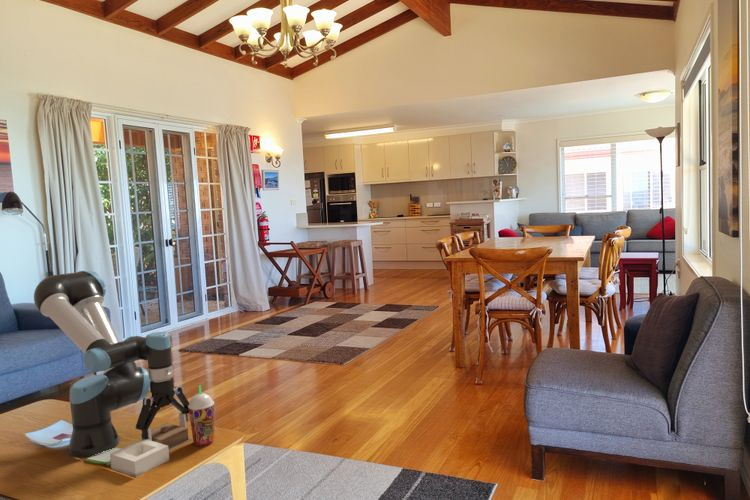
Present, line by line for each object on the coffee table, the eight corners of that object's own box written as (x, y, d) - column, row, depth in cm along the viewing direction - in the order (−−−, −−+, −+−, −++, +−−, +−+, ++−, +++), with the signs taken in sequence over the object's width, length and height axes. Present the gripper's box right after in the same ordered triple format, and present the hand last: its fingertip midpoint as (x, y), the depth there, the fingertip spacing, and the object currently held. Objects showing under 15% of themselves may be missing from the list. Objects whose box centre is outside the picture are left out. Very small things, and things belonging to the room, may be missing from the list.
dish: (111, 469, 172) (109, 453, 171) (145, 453, 182) (143, 438, 182) (135, 477, 166) (134, 461, 165) (169, 461, 176) (168, 445, 175)
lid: (142, 445, 187) (141, 430, 187) (168, 434, 196) (167, 419, 196) (162, 452, 182) (161, 436, 181) (188, 439, 191) (187, 424, 190)
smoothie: (209, 449, 183) (205, 390, 181) (186, 448, 184) (181, 389, 183) (221, 438, 191) (217, 381, 189) (199, 437, 193) (194, 381, 191)
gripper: (134, 392, 174) (140, 457, 176) (199, 369, 196) (203, 427, 197) (120, 389, 178) (126, 452, 180) (184, 367, 200) (189, 424, 201)
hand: (166, 440), depth 189 cm, fingers open, 13 cm apart
